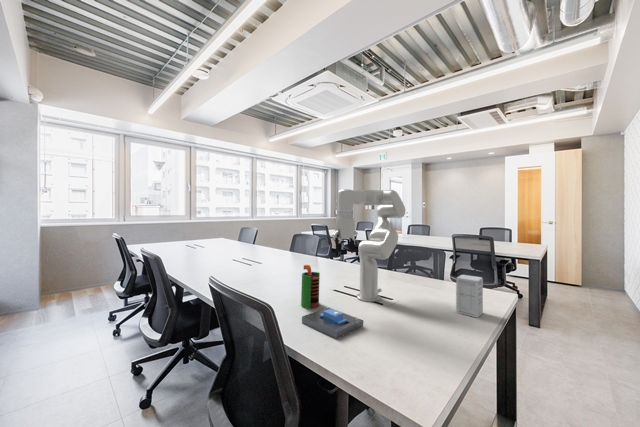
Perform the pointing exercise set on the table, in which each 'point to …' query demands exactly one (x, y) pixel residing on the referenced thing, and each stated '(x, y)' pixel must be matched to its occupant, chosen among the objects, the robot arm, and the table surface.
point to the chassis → (330, 328)
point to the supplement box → (469, 295)
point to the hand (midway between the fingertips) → (345, 250)
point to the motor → (310, 288)
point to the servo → (333, 317)
